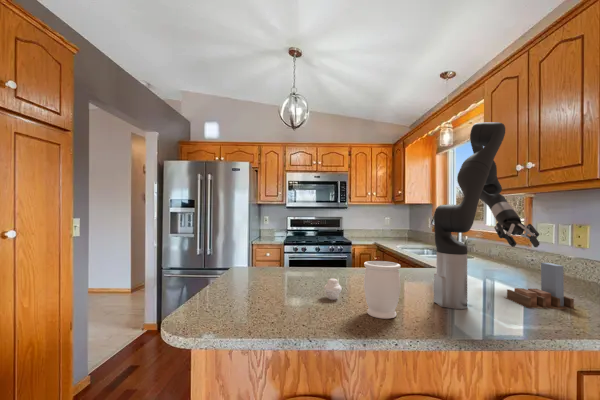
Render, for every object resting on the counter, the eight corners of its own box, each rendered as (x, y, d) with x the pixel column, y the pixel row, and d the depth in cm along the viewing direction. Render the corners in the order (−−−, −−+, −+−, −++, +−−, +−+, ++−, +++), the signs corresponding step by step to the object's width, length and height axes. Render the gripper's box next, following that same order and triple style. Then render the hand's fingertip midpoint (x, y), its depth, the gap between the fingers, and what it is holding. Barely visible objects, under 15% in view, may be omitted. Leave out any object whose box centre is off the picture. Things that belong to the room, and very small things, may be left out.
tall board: (556, 306, 96) (555, 265, 97) (541, 300, 102) (541, 262, 103) (563, 306, 96) (563, 265, 97) (548, 300, 102) (548, 262, 103)
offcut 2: (541, 305, 97) (541, 293, 97) (527, 300, 102) (527, 288, 103) (551, 305, 96) (551, 293, 97) (536, 300, 102) (536, 288, 103)
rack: (527, 310, 94) (527, 298, 94) (504, 300, 105) (504, 289, 105) (575, 312, 94) (575, 299, 94) (546, 301, 105) (546, 290, 105)
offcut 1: (527, 305, 97) (527, 292, 97) (514, 299, 103) (514, 288, 103) (536, 305, 97) (536, 293, 97) (523, 300, 103) (523, 288, 103)
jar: (380, 323, 81) (380, 267, 81) (356, 311, 90) (357, 261, 90) (408, 317, 86) (408, 265, 86) (382, 306, 95) (383, 259, 95)
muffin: (320, 297, 103) (320, 277, 103) (332, 294, 107) (332, 275, 108) (333, 302, 99) (333, 280, 99) (345, 298, 103) (345, 278, 103)
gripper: (491, 208, 121) (511, 239, 109) (527, 208, 121) (550, 239, 109) (484, 220, 126) (502, 251, 114) (517, 221, 126) (539, 252, 114)
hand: (525, 245), depth 112 cm, fingers open, 8 cm apart
